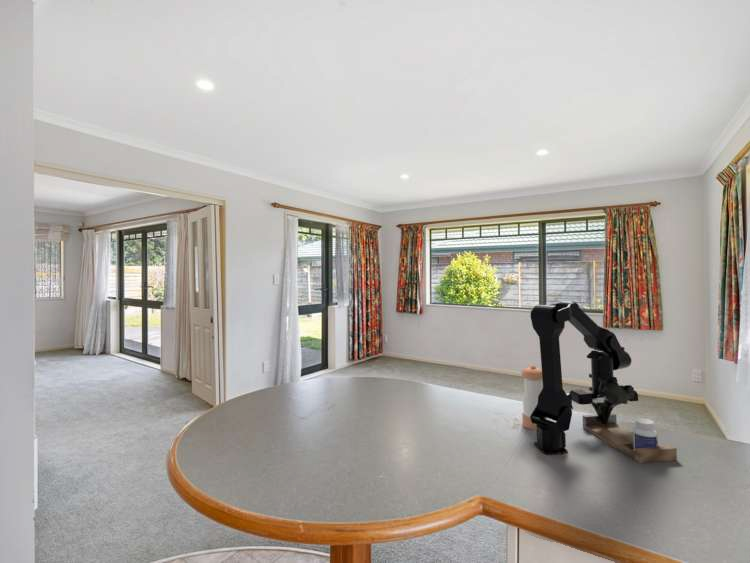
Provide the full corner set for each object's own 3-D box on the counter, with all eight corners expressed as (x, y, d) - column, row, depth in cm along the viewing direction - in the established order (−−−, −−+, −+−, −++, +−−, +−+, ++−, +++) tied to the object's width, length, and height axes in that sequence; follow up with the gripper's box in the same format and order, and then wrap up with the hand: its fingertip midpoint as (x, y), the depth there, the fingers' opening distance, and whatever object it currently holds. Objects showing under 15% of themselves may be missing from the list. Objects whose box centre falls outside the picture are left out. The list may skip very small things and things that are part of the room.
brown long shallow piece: (640, 463, 95) (639, 447, 95) (582, 427, 118) (582, 415, 118) (676, 460, 96) (676, 444, 96) (613, 425, 119) (612, 412, 119)
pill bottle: (662, 460, 97) (661, 425, 97) (638, 458, 98) (637, 424, 98) (652, 450, 102) (651, 417, 102) (630, 449, 103) (629, 416, 103)
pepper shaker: (522, 428, 119) (520, 367, 119) (522, 420, 126) (521, 362, 126) (547, 431, 117) (546, 369, 116) (546, 422, 123) (545, 363, 123)
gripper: (590, 380, 107) (592, 436, 107) (652, 377, 108) (654, 432, 108) (567, 371, 118) (568, 422, 118) (623, 368, 119) (625, 418, 119)
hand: (604, 423), depth 115 cm, fingers closed, pressing on brown long shallow piece
